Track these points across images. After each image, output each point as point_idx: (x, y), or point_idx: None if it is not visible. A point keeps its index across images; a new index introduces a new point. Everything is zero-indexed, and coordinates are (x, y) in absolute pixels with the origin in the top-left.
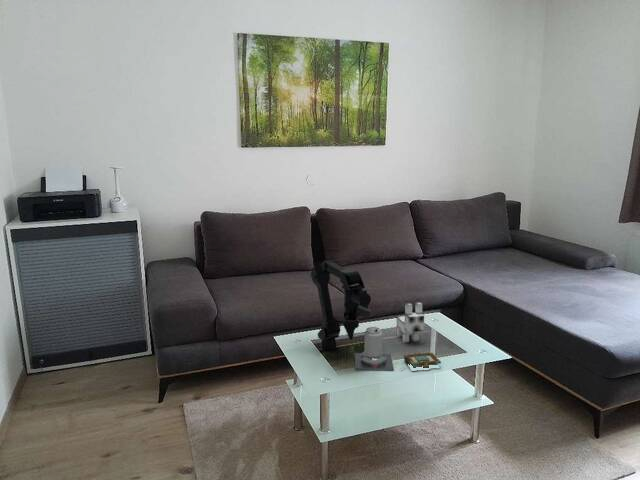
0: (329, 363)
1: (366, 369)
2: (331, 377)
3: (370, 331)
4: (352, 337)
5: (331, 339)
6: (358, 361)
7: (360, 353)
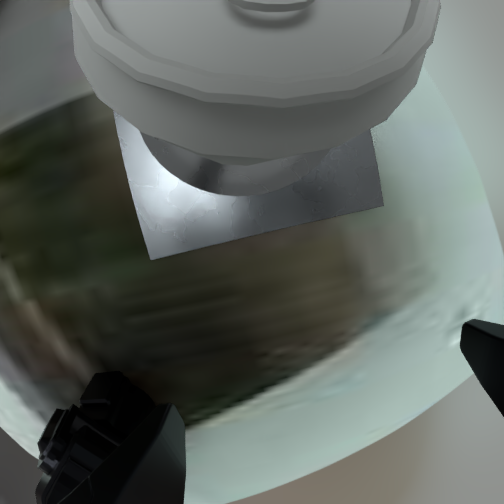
0: (313, 365)
1: (367, 135)
2: (451, 307)
3: (349, 4)
4: (496, 326)
5: (123, 435)
6: (282, 204)
7: (144, 218)
